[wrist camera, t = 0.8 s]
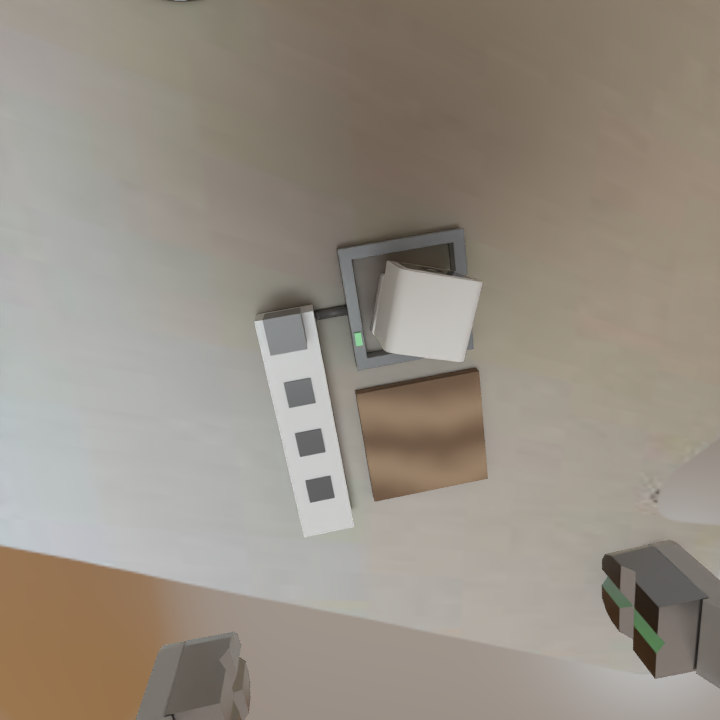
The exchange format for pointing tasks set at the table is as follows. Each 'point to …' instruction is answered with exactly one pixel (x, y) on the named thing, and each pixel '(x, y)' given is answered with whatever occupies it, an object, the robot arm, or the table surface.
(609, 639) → the table surface
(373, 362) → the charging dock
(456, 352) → the security camera
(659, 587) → the robot arm
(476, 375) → the walnut pad
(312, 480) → the power strip
